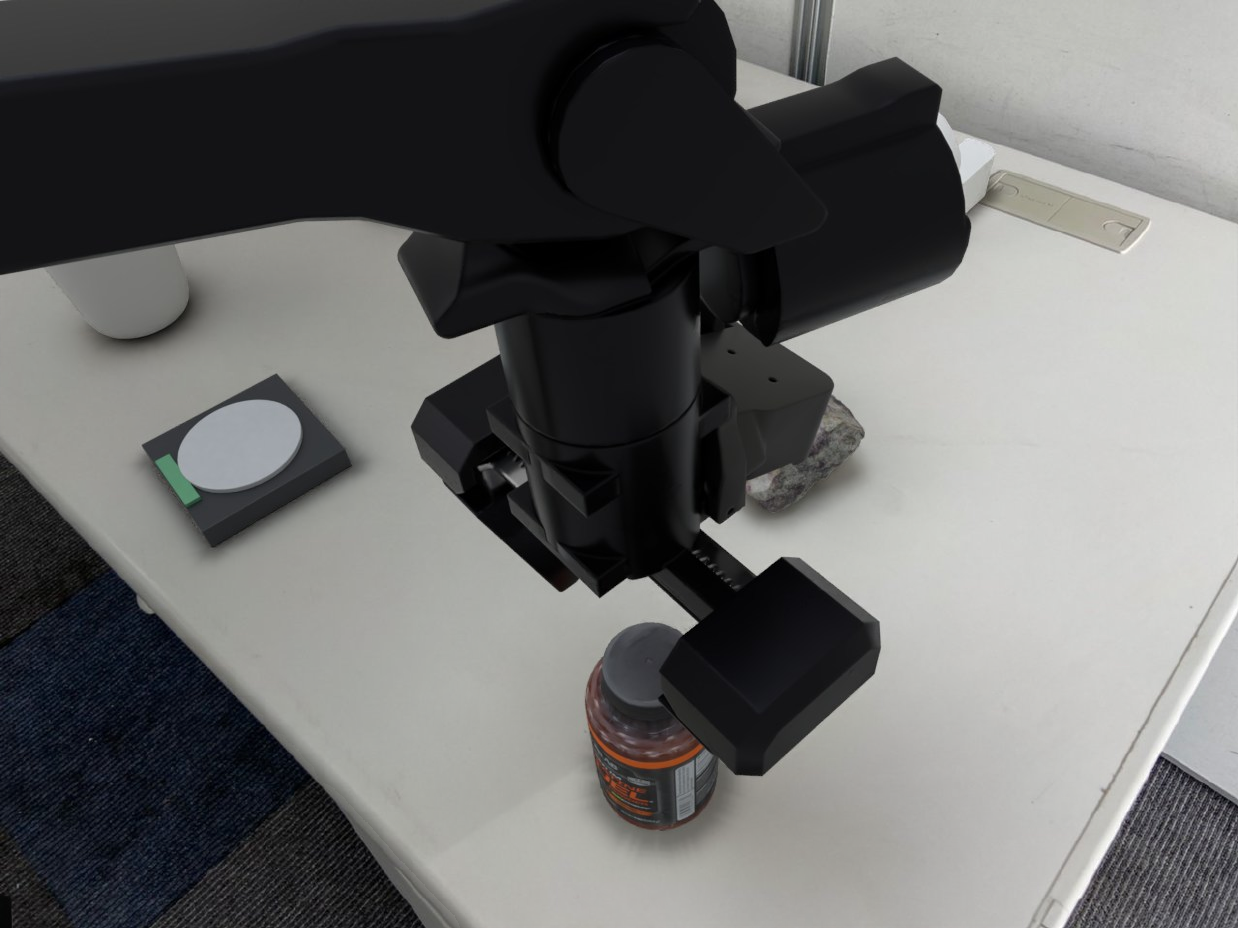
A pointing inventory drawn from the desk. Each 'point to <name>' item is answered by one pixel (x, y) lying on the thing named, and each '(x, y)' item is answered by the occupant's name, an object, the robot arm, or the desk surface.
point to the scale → (246, 458)
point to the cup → (126, 290)
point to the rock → (810, 460)
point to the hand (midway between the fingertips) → (635, 651)
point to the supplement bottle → (644, 735)
